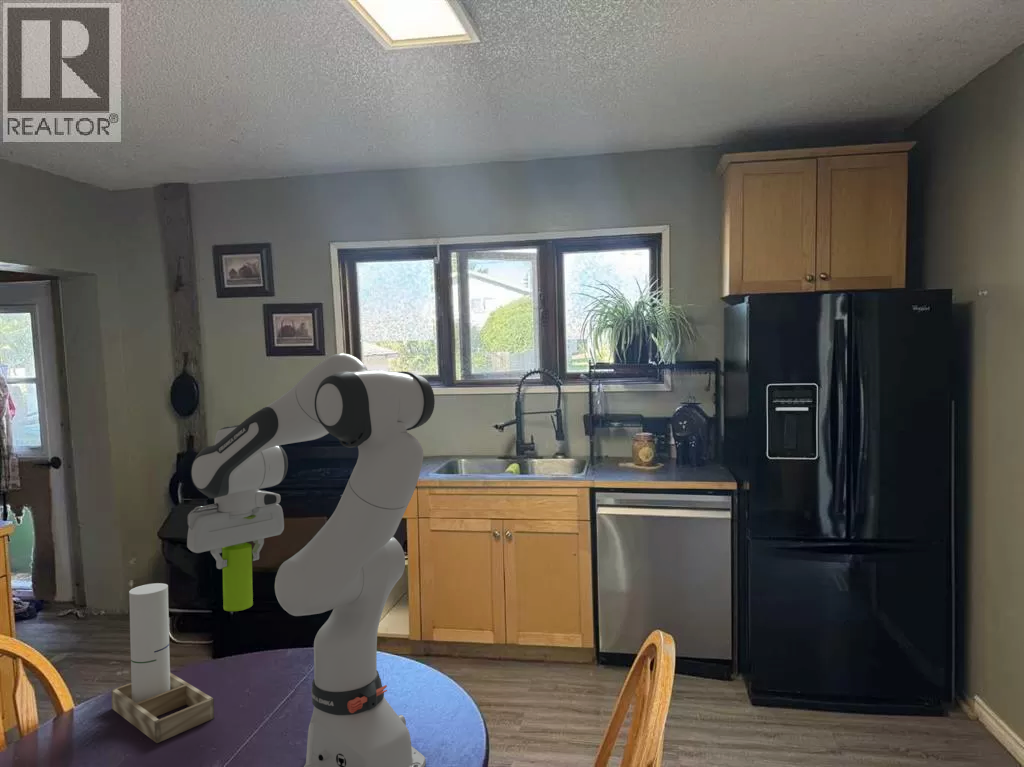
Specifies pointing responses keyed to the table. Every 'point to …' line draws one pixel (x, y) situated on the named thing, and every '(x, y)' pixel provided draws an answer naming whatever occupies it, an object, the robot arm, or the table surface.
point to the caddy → (164, 709)
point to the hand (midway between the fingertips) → (238, 563)
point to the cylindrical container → (149, 641)
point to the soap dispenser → (238, 576)
